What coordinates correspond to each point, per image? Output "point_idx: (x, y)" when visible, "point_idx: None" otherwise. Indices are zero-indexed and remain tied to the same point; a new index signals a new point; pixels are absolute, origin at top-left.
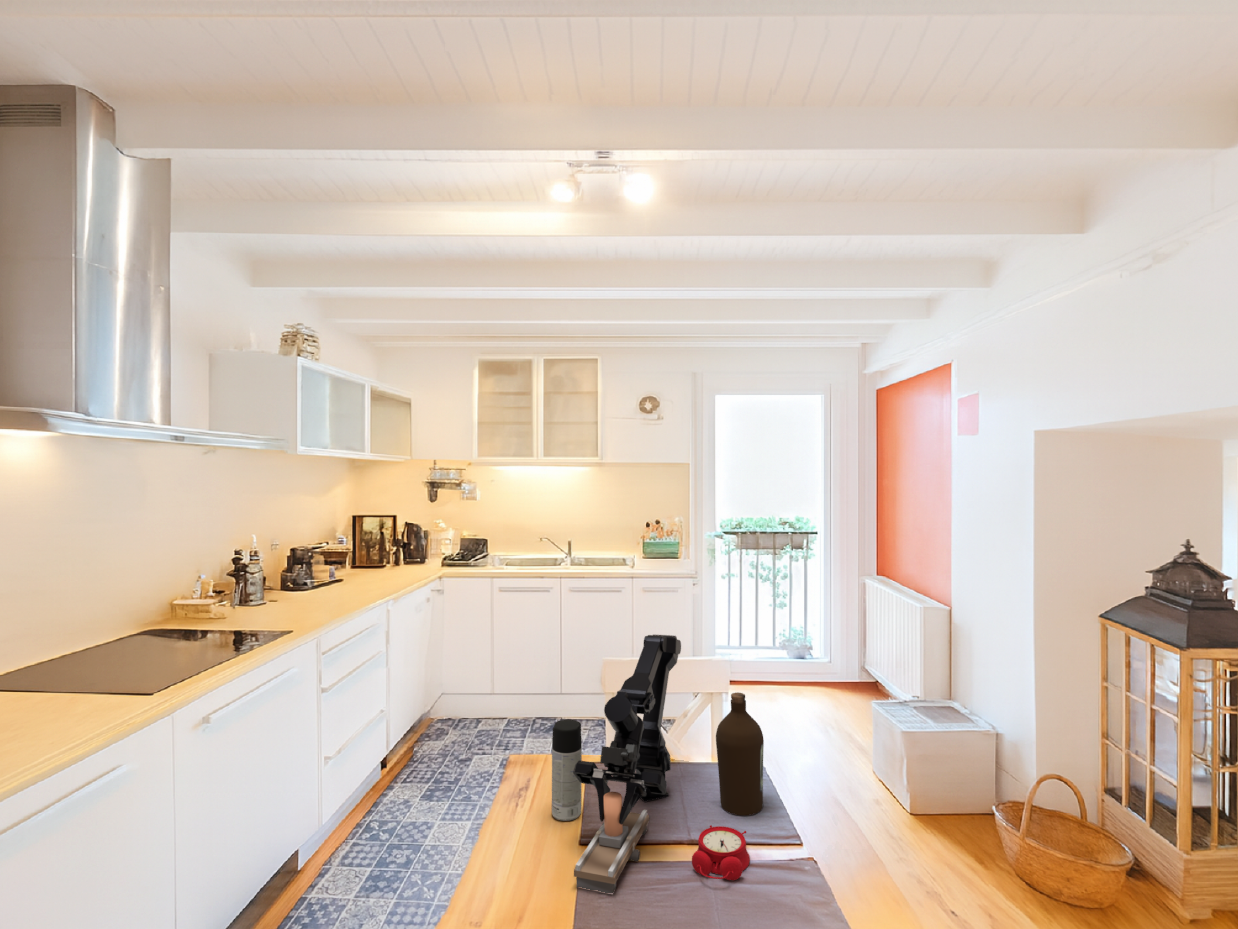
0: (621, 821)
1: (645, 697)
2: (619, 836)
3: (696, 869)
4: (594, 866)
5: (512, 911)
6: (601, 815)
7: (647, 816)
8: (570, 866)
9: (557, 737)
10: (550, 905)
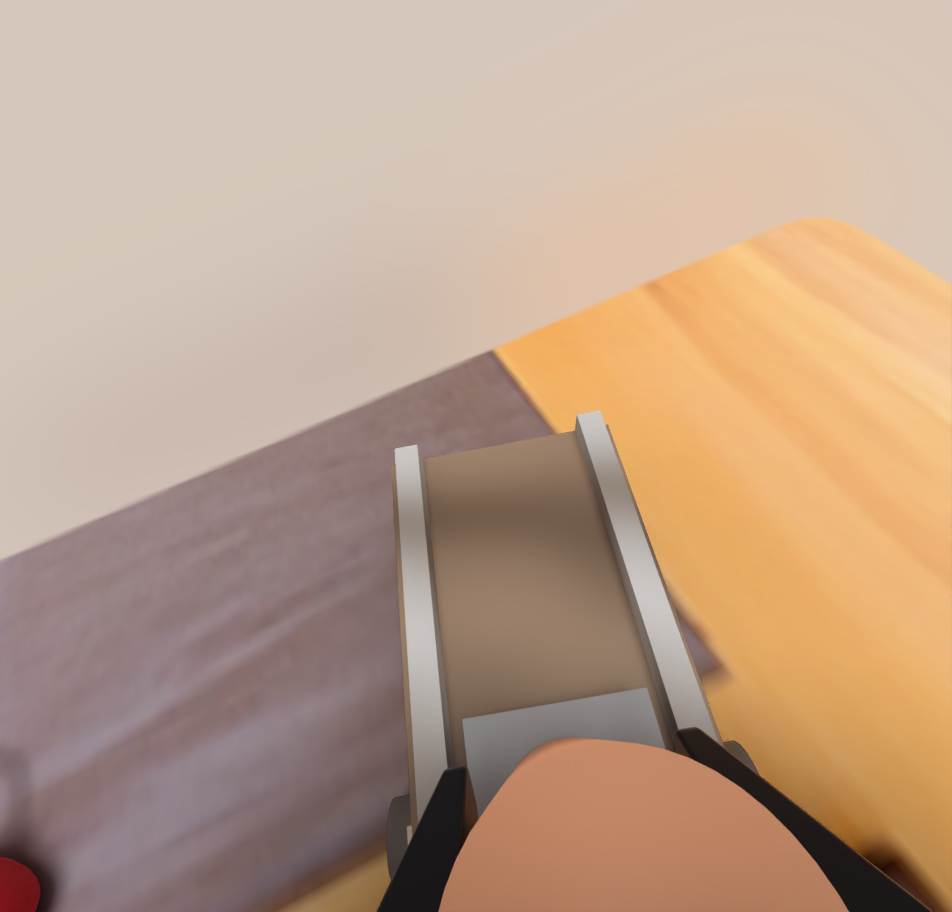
0: (439, 781)
1: None
2: (492, 776)
3: (14, 867)
4: (529, 492)
5: (700, 291)
6: (704, 755)
7: None
8: (734, 590)
9: None
10: (609, 359)
